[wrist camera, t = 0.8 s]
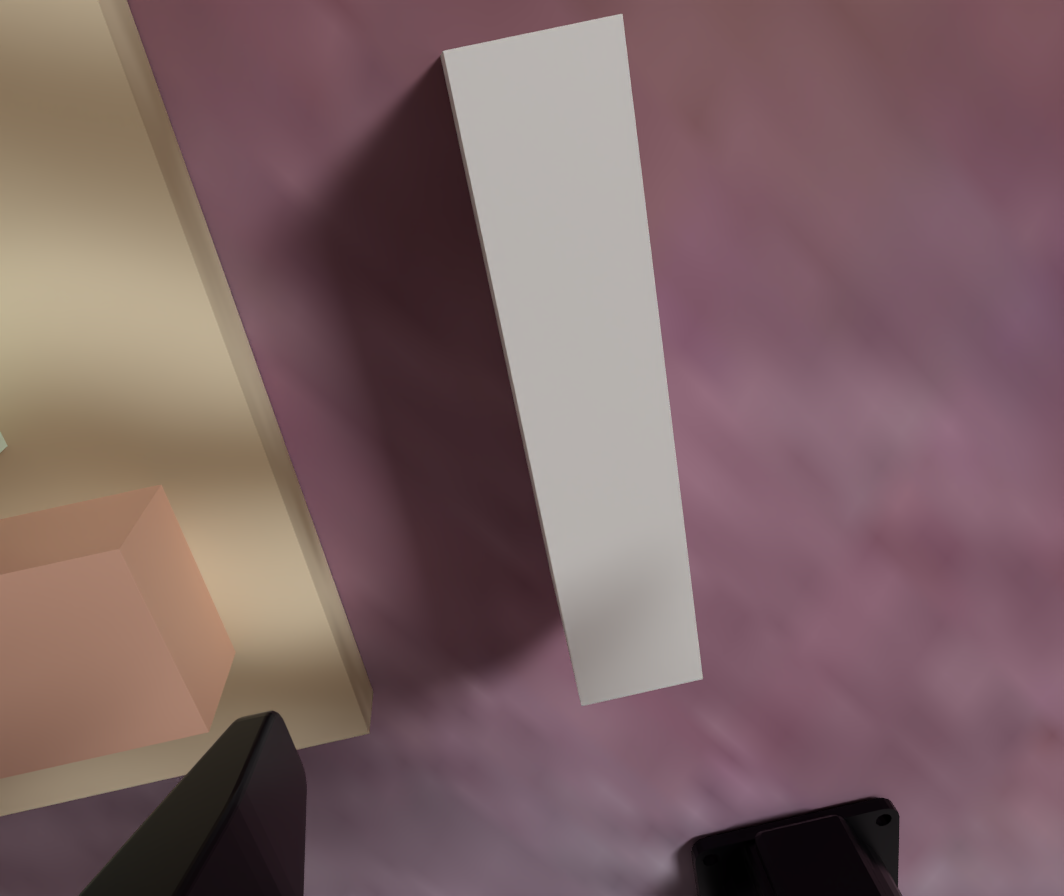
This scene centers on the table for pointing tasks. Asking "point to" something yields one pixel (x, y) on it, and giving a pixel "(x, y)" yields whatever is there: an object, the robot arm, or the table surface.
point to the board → (147, 381)
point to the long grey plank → (582, 341)
